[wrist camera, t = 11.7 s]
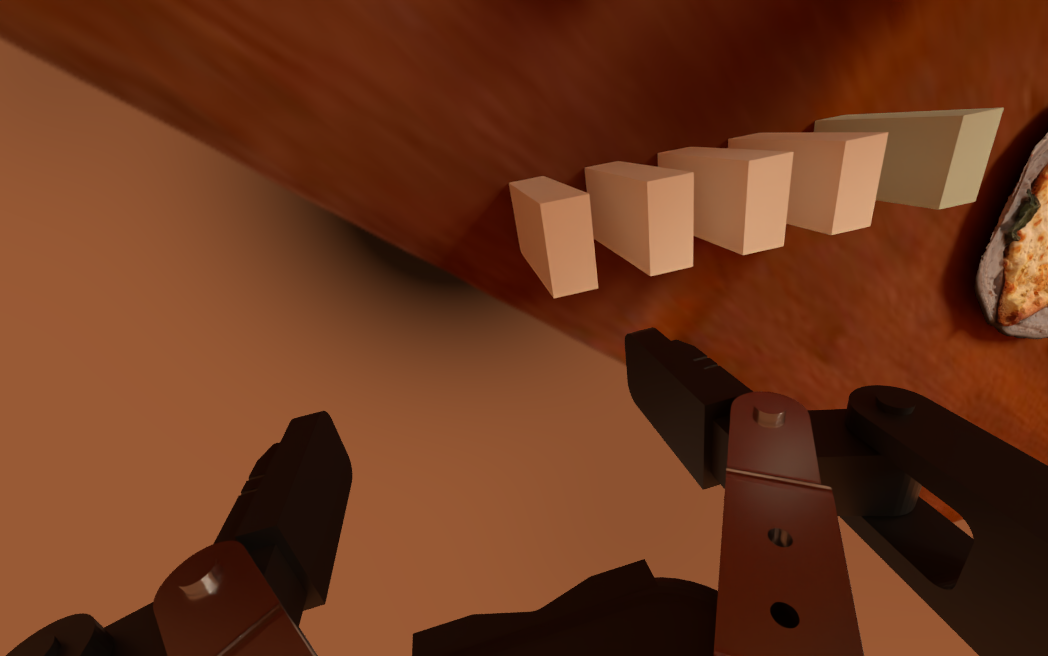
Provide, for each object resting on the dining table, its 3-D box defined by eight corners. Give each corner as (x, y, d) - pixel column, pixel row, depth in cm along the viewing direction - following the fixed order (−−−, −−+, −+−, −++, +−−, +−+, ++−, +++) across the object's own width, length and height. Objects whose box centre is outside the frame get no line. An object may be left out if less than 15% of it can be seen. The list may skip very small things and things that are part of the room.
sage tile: (845, 115, 32) (1003, 107, 23) (834, 183, 34) (975, 201, 25) (815, 120, 32) (963, 115, 23) (806, 189, 34) (938, 209, 25)
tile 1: (543, 175, 30) (589, 193, 21) (552, 245, 32) (598, 288, 23) (508, 182, 30) (539, 203, 21) (520, 252, 32) (553, 298, 23)
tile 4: (759, 132, 31) (888, 132, 22) (754, 201, 34) (870, 226, 25) (728, 138, 31) (846, 141, 22) (725, 207, 33) (831, 235, 24)
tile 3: (690, 146, 31) (793, 151, 22) (689, 215, 33) (783, 245, 24) (657, 153, 31) (748, 160, 22) (659, 222, 33) (742, 255, 24)
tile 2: (618, 160, 30) (694, 172, 21) (622, 230, 32) (693, 266, 24) (584, 167, 30) (647, 181, 21) (591, 237, 32) (650, 276, 23)
